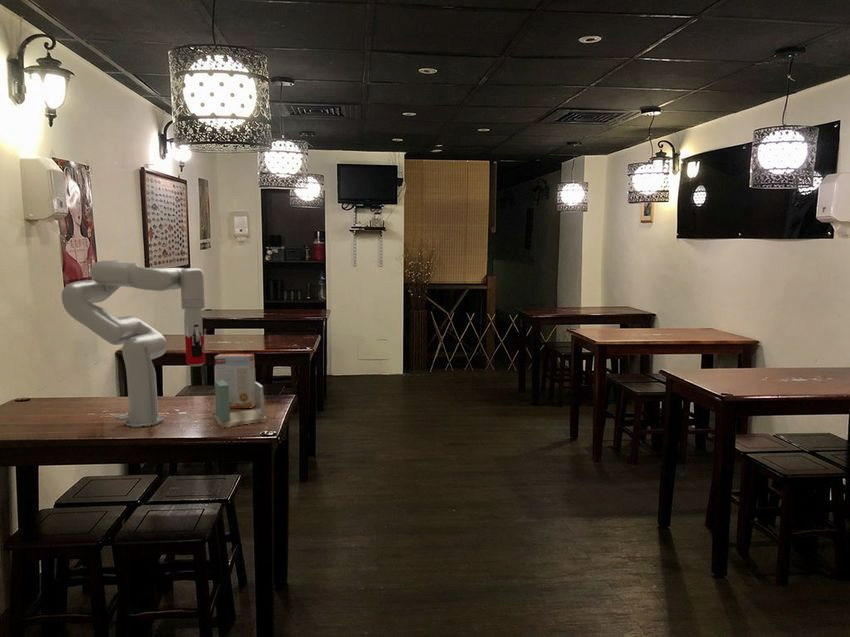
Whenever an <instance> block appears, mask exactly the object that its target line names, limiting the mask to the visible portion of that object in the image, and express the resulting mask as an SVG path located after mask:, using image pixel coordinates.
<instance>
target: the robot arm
mask: <svg viewBox="0 0 850 637" xmlns="http://www.w3.org/2000/svg"><path fill="white" fill-rule="evenodd" d="M89 274H90V278H91V279H88V280H78V281H73V282H70V283H68V284H67V285H66V286H64V287H63V290H62V291H61V303H62V307H64V310H65V312H67V313H68V315H69V316H70V317H71V318H73V319H74V321H75V320H76V321H77V322H78V323H80V324H82V325H83V326H85V327H86V328H87V329H89V330H91V332H93V333H94V334H96V335H97V336H98V337H100V338H101V339H103V340H104V341H106V342H107V343H109V344H111V345H113V346H119V345H122V350H121V351H122V358H123V361H124V365H125V371H126V382H127V383H126V384H127V398H128V410H127V412H124V413H123V414H121V413H119V414H115V416H114V417H115V418H114V419H115V421H124V424H126V425H127V427H129V426H131V428H142V426H145V427H151V425H152V426H155V425H159V424H161V423H162V422H163V421H164V417H163V416H162V415H159V404H158V388H157V373H156V369H155V366H154V362H153V361H152V360H155V359H157V358H160V357H162V356H163V355H164V354H166V351H167V349H168V342H167V339H166V338H165V336H164V335H163V334H162V333H161V332H159V331H158V330H156V329H155V328H154V327H152V326H150V325H149V324H148V323H146V322H145V321H144V320H142V319H140V318H138V317H136V316H132V315H128V316H120V317H118V316H115V315H113V314H112V313H111V312H109V311H108V310H106V309H105V308H103V307H100V306H98V305H96V304H95V303H102V302H104V301H106V300H108V299H109V298H110V297H111V296H112V295H113V294H114V293H116V291H117V290H119V289H120V287H124V288H125V287H126V288H134V289H138V290H145V291H157V292H161V291H162V292H165V291H170V290H171V291H172V290H179V289H180V299H181V301H180V302H181V310H184V314H183V316H184V321H183V322H184V336H185V335H186V336H187V337H188V338H190V336H192V345H193V346H192V357H201V356H202V345H201V338H200V337H202V335H203V334H204V333H203V312H202V310H203V309H206V306H205V304H206V303H205V286H204V285H205V284H204V280H205V279H204V271H203V270H202V269H200V268H197V267H196V268H194V267H193V268H183V267H166V268H165V267H164V268H163V267H162V268H156V267H155V268H153V267H143V266H141V265H139V264H138V263H136V262H124V261H122V260H117V259H112V260H111V259H109V260H100V261H97V262H95V263H94V264H92V266H91V267H90V270H89ZM200 333H201V335H200ZM193 335H195V336H194V337H193Z"/></svg>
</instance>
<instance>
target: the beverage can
mask: <svg viewBox="0 0 850 637" xmlns="http://www.w3.org/2000/svg"><path fill="white" fill-rule="evenodd" d="M200 335H201V333H200ZM184 336H185V338H184V340H185V359H186V360H185V361H186V365H187V366H190V367H201V366H204V365H205V364H206V350H205V334H204V333H203V335H202V337H200V338H201V345H202V356H201V357H192V346H193V345H192V336H190V338H188V337H187V336H186V335H185V334H184ZM194 336H195V335H193V337H194Z"/></svg>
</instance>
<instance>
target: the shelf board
mask: <svg viewBox="0 0 850 637" xmlns="http://www.w3.org/2000/svg"><path fill="white" fill-rule="evenodd" d="M213 419H214V420H216V421H217V422H216V421H215V422H216V423H217V424H218V426H219V425H220V426H219V427H220V429H225V428H224V427H226V428H232V427H231V426H234V427H238V426H237V425H241V426H244V425H243V424H248V425H250V424H249V423H255V422H261V421H267V422H268V417H267V416H266V415H265V414H264V416H263V417H261V416H260V415H259V414H258V413H257V412H256V410H255V409H246V410H240V411H239V410H238V411H234V412H232V411H230V421H228V422H221V421H220V420H219V419H218V417H217V416H216V413H215V414H213ZM255 424H256V423H255Z"/></svg>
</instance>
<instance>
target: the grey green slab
mask: <svg viewBox="0 0 850 637" xmlns="http://www.w3.org/2000/svg"><path fill="white" fill-rule="evenodd" d="M214 394H215V414H216V416H217V417H218V419H219V420H220V421H221V422H228V421H230V413H231V408H230V405H229V385H228V384H227V383H226V382H225V381H224V380H217V381H216V380H214Z"/></svg>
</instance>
